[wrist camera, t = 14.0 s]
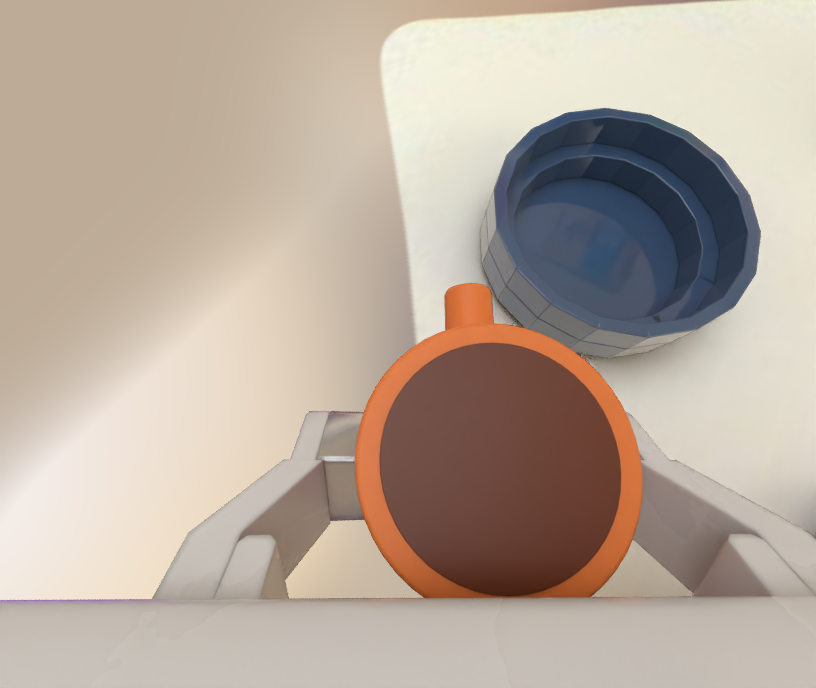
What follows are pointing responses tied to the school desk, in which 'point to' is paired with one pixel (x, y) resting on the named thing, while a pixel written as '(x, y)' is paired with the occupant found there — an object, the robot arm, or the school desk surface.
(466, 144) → the school desk surface
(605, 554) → the orange cylinder with nub
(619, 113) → the bowl
